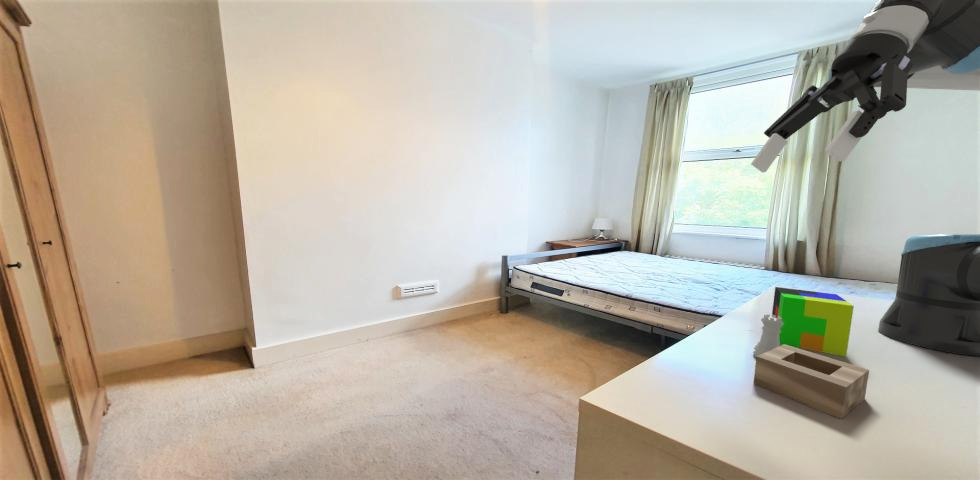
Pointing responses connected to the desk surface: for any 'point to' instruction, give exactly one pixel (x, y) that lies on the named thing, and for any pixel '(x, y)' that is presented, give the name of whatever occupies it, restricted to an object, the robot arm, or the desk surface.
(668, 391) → the desk surface
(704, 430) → the desk surface
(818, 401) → the socket block
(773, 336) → the rook chess piece
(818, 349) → the puzzle toy
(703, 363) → the desk surface
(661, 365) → the desk surface
